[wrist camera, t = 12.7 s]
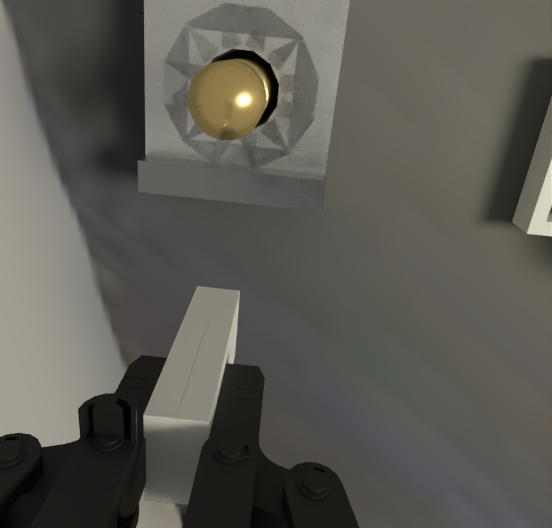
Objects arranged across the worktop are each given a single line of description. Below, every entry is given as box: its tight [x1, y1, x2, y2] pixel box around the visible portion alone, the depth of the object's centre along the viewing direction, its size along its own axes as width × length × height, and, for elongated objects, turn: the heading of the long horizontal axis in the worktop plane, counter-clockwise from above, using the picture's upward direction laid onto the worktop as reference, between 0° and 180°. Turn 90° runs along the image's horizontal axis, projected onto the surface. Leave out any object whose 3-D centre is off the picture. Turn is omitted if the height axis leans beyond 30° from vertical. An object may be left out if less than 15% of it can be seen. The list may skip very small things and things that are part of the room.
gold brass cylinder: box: [188, 58, 273, 141], centre depth 34 cm, size 4×4×12 cm
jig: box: [138, 0, 350, 212], centre depth 36 cm, size 16×14×6 cm
